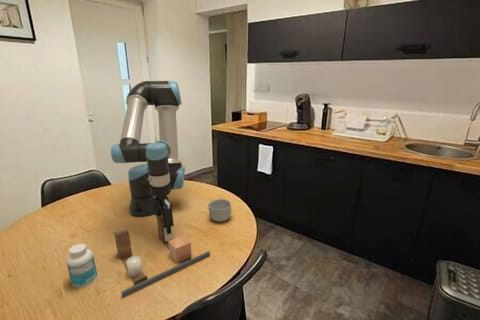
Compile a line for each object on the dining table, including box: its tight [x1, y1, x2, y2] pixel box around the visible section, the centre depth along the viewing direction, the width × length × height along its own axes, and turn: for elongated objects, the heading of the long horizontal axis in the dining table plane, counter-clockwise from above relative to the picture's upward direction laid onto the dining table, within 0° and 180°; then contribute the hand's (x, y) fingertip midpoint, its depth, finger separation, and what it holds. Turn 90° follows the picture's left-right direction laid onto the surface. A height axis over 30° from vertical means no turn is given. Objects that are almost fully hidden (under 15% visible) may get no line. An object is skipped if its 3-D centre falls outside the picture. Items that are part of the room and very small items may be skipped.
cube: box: [168, 234, 193, 264], centre depth 97 cm, size 6×6×6 cm
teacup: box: [207, 197, 232, 223], centre depth 126 cm, size 14×11×8 cm
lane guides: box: [120, 250, 211, 298], centre depth 97 cm, size 24×31×3 cm
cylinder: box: [126, 255, 143, 278], centre depth 88 cm, size 4×4×5 cm
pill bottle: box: [65, 243, 98, 288], centre depth 85 cm, size 8×7×14 cm
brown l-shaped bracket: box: [113, 226, 148, 286], centre depth 91 cm, size 20×4×12 cm, turn 38°
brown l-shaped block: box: [156, 215, 192, 265], centre depth 100 cm, size 20×4×12 cm, turn 38°
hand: (165, 235), depth 107 cm, fingers open, 6 cm apart
